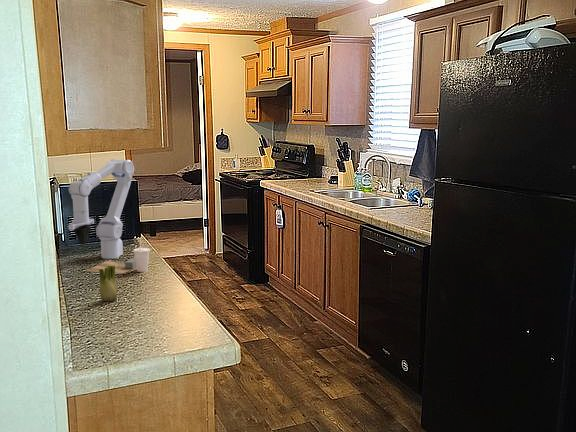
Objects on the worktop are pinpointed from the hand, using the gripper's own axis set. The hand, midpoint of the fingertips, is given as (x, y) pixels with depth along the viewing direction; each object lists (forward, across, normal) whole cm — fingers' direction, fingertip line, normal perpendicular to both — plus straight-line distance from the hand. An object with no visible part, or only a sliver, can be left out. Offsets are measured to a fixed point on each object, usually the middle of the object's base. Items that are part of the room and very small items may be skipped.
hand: (82, 244), depth 219 cm
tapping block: (+9, -3, +20) cm, 22 cm away
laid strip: (+10, 0, +18) cm, 21 cm away
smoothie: (+10, +2, +27) cm, 29 cm away
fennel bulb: (+10, +34, +32) cm, 48 cm away
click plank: (+10, 0, +10) cm, 14 cm away
